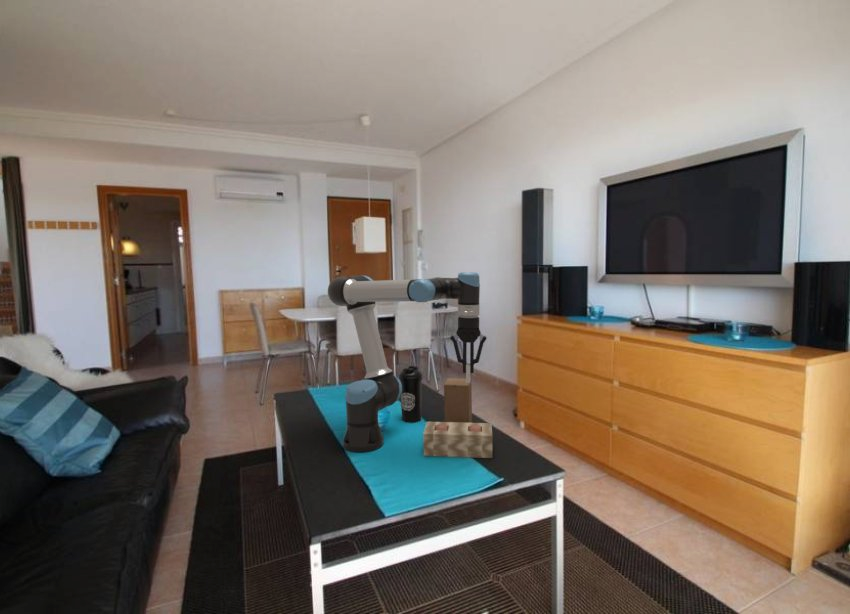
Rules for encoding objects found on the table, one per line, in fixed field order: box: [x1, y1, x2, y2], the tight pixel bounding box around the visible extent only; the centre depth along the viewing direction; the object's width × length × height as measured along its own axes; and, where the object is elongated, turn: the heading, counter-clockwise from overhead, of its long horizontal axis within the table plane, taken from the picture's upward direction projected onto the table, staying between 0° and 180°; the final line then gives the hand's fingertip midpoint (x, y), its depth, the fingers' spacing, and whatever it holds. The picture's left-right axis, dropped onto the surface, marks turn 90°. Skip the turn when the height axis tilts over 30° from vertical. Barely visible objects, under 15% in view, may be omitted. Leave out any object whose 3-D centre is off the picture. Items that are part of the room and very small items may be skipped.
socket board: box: [422, 421, 493, 459], centre depth 158 cm, size 24×12×8 cm, turn 83°
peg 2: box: [469, 425, 481, 432], centre depth 157 cm, size 4×4×8 cm
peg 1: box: [436, 424, 447, 431], centre depth 159 cm, size 4×4×8 cm
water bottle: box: [398, 365, 423, 424], centre depth 190 cm, size 10×10×23 cm
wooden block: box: [443, 377, 473, 423], centre depth 178 cm, size 10×10×20 cm
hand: (468, 381), depth 156 cm, fingers closed
